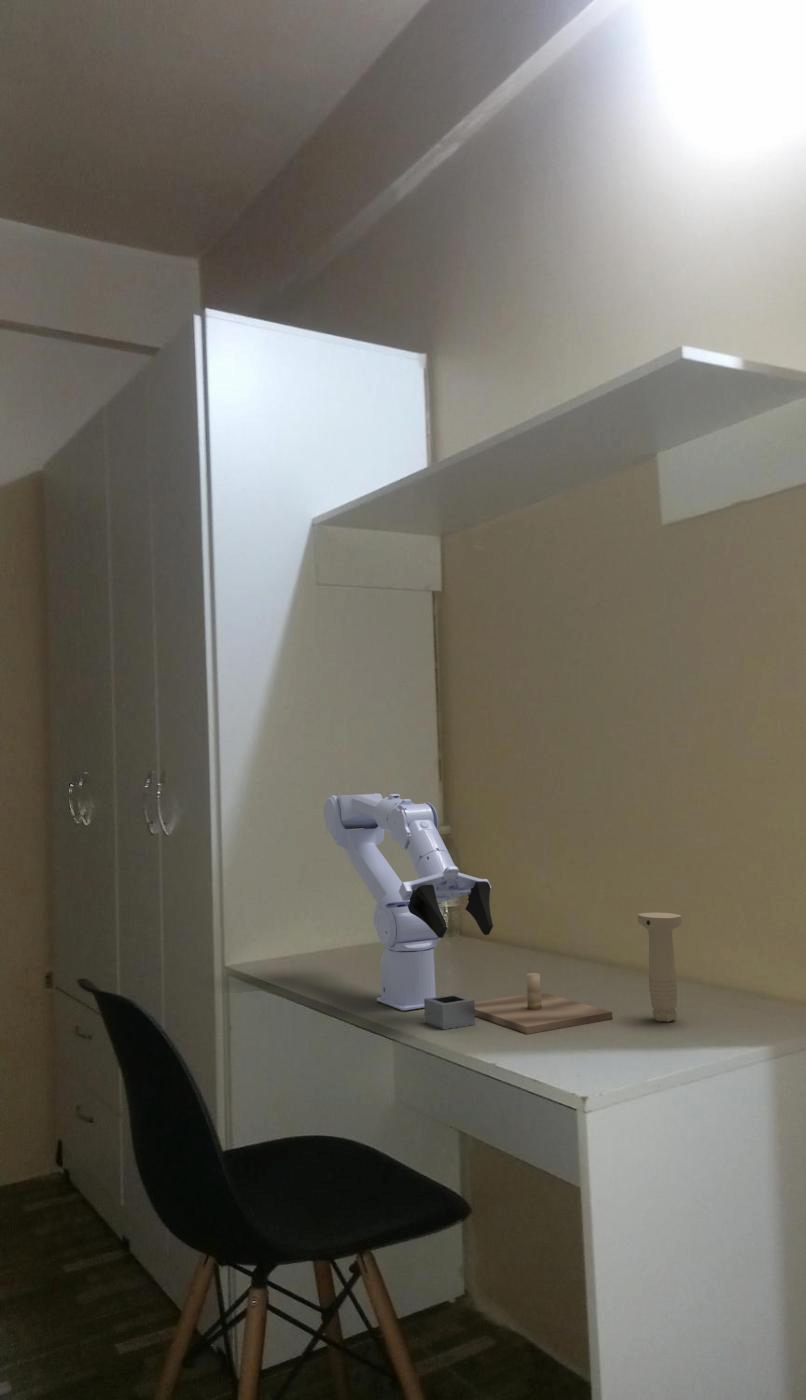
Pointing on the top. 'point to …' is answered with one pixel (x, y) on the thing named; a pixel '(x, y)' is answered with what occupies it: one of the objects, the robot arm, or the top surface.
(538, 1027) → the board
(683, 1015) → the top surface
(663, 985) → the handle
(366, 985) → the top surface
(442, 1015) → the collar
